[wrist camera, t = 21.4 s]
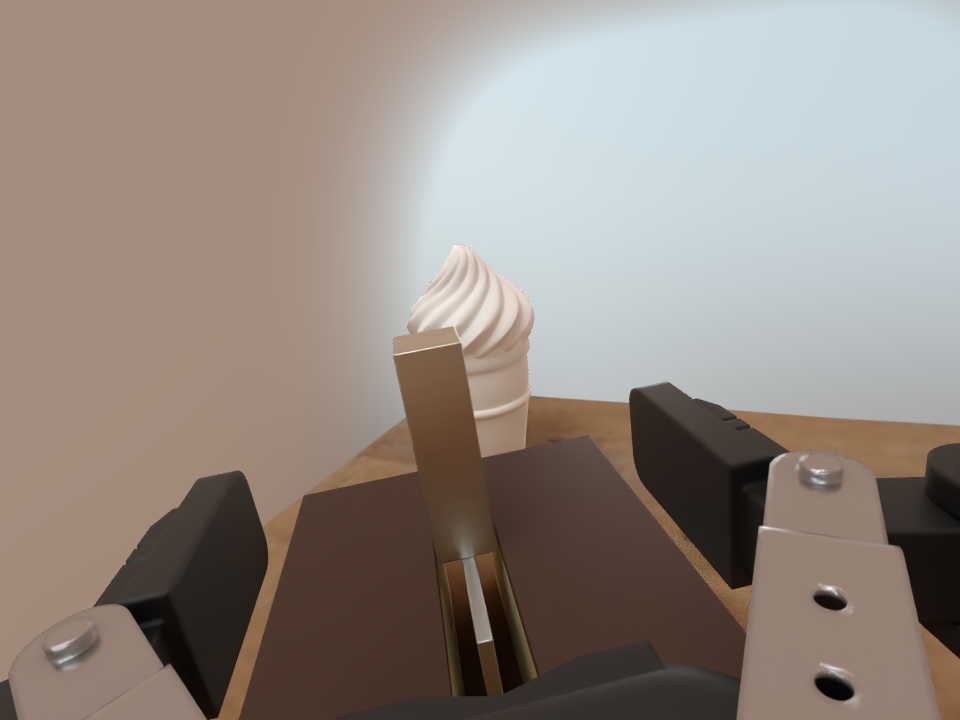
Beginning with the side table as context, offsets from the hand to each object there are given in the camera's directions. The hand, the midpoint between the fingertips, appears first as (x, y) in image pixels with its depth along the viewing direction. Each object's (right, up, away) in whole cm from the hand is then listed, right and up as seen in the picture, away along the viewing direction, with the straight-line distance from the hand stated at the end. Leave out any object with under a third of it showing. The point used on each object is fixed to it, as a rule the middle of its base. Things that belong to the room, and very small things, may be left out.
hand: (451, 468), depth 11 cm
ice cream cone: (+2, -6, +29) cm, 29 cm away
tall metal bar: (+1, -11, +12) cm, 16 cm away
